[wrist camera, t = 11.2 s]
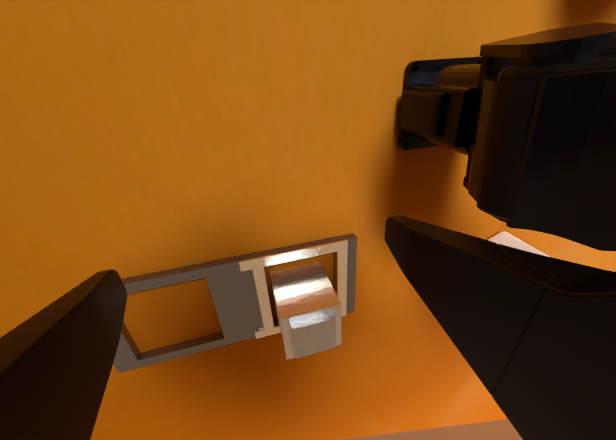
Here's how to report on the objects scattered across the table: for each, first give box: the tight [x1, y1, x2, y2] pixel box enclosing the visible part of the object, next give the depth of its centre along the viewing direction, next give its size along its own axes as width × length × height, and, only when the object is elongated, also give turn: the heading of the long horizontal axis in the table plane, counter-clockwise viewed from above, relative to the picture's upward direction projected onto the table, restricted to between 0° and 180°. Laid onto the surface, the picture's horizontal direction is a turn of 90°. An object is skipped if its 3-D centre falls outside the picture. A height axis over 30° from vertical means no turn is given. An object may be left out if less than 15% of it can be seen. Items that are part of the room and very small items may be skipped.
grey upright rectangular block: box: [270, 261, 342, 360], centre depth 25 cm, size 5×5×7 cm
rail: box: [113, 233, 357, 373], centre depth 26 cm, size 24×10×1 cm, turn 94°
